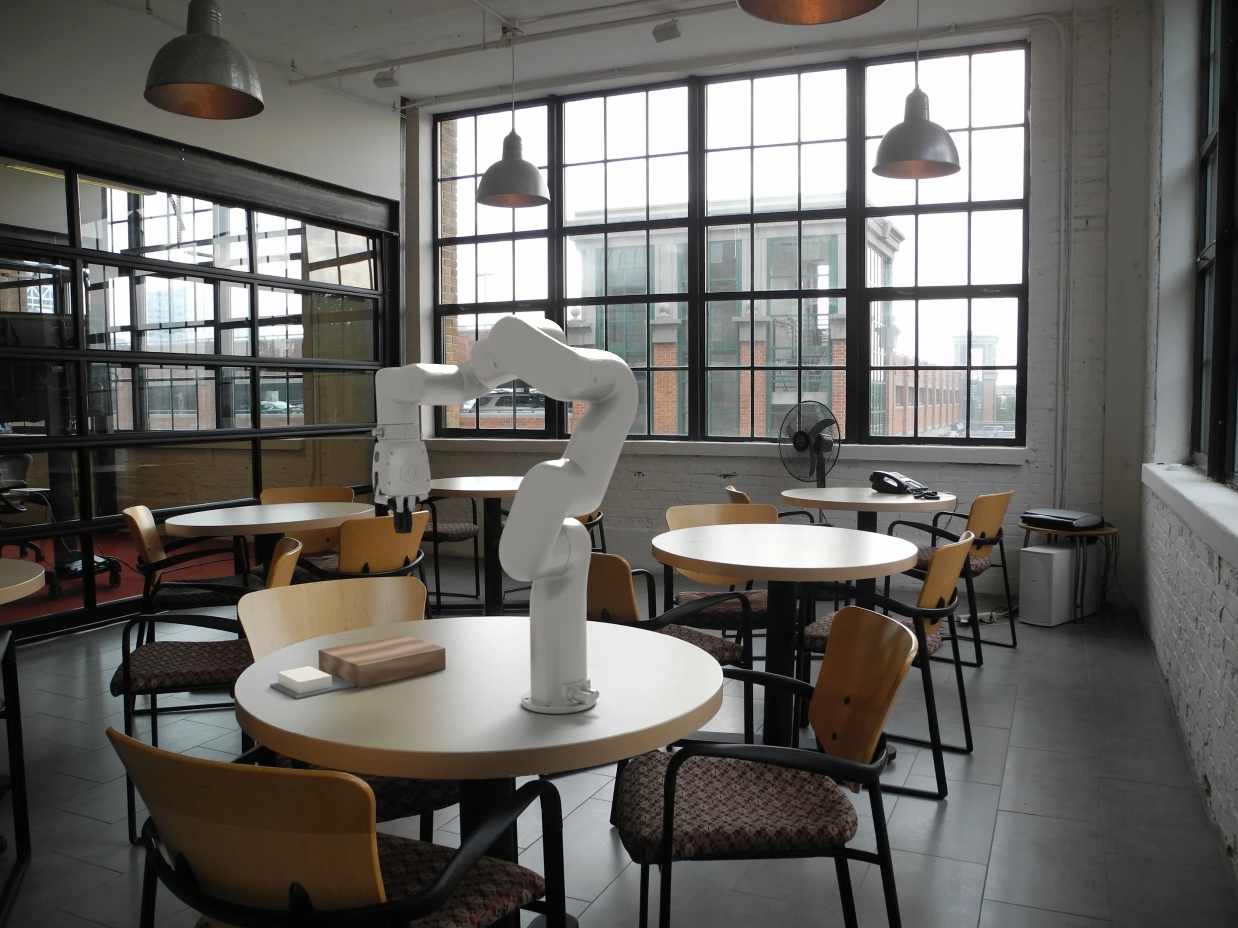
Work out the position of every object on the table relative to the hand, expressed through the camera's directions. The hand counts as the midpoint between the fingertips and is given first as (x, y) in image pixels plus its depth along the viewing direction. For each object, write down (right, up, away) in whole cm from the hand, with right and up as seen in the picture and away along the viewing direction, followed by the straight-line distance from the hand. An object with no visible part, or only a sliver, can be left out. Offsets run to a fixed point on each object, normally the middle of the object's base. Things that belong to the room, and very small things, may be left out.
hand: (403, 532), depth 175 cm
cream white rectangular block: (-16, -25, -6) cm, 30 cm away
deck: (-5, -27, +5) cm, 27 cm away
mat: (-15, -27, -6) cm, 32 cm away
